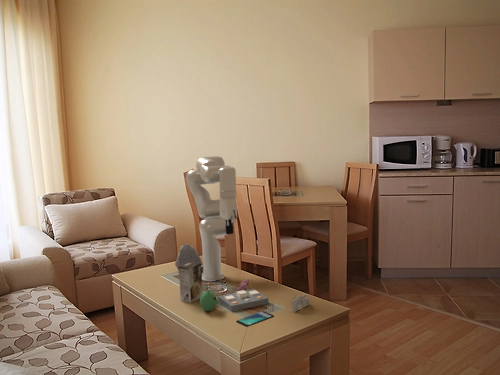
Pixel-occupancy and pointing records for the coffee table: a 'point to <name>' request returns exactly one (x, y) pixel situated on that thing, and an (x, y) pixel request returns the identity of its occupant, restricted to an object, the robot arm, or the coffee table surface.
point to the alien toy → (208, 300)
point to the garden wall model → (298, 300)
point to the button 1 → (229, 298)
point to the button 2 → (253, 293)
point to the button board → (243, 301)
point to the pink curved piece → (243, 285)
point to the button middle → (241, 294)
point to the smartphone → (254, 318)
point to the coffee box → (190, 281)
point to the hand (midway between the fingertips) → (229, 233)
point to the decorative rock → (187, 256)
